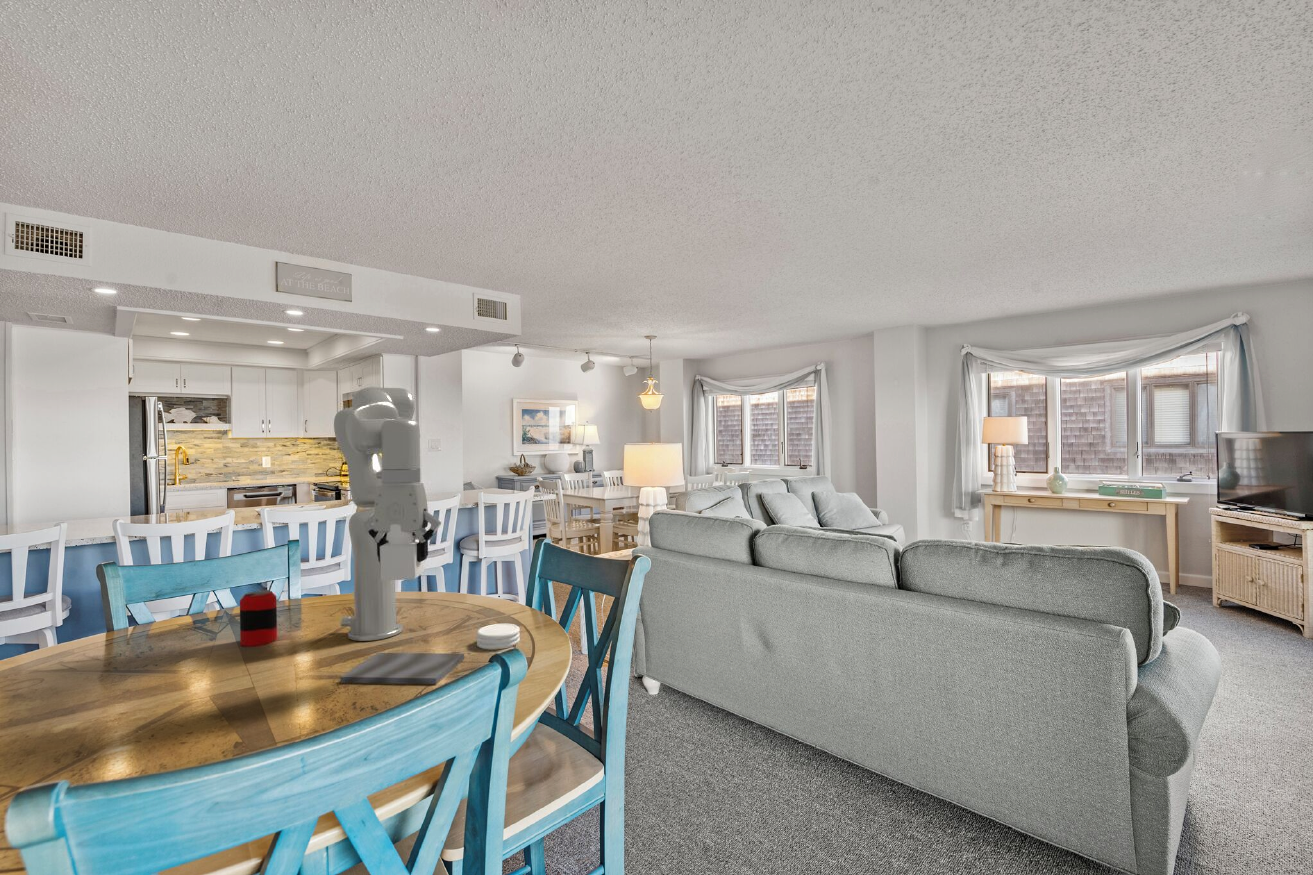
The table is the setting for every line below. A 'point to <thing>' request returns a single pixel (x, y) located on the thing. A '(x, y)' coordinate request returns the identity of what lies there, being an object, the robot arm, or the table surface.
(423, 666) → the charcoal board
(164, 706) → the table surface
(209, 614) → the table surface
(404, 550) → the medicine bottle
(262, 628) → the soda can
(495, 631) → the coaster
